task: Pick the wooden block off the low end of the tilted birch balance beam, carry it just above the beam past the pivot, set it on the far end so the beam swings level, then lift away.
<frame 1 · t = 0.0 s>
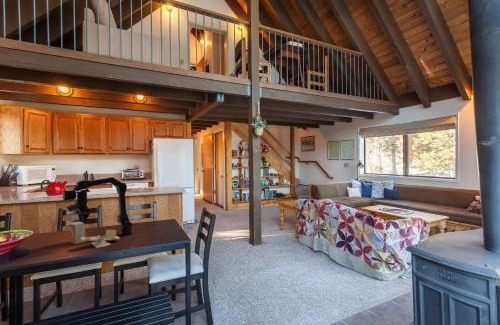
hand: (82, 222, 170), 15 cm above the table, tool pointing down, fingers open, 9 cm apart
pivot stand: (100, 244, 168), on the table
beam: (100, 238, 168), point 4 cm above the table, hinge at -10.2°, touching wooden block
small box: (77, 242, 173), on the table
wooden block: (110, 237, 172), point 3 cm above the table, tilted 10°, touching beam
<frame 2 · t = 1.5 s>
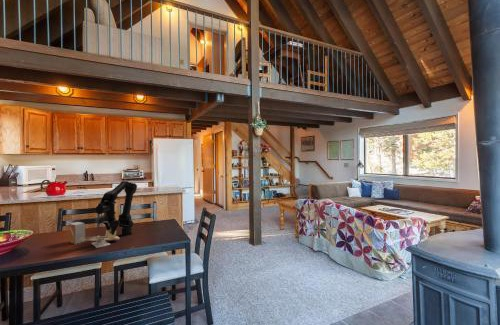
hand: (110, 233, 172), 6 cm above the table, tool pointing down, fingers open, 9 cm apart
nothing on the table moved.
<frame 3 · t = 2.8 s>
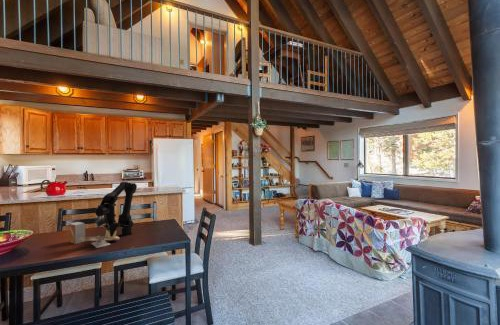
hand: (110, 235, 172), 4 cm above the table, tool pointing down, fingers closed on wooden block, 5 cm apart
wooden block: (110, 237, 172), point 3 cm above the table, tilted 10°, touching beam, gripper
everything else where it was.
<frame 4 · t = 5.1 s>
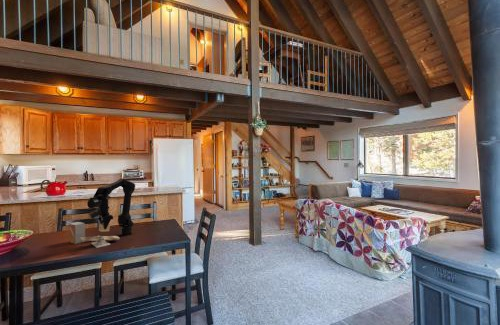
hand: (103, 228, 169), 10 cm above the table, tool pointing down, fingers closed on wooden block, 5 cm apart
beam: (100, 238, 168), point 4 cm above the table, hinge at -10.2°
wooden block: (103, 230, 169), point 9 cm above the table, tilted 10°, touching gripper
everything else where it was.
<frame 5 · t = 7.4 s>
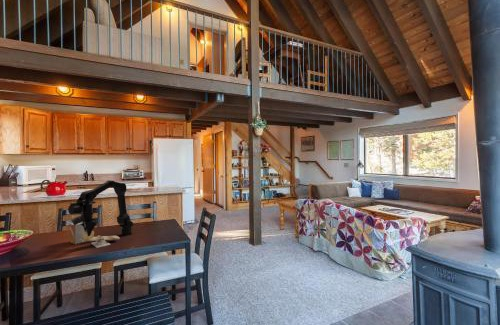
hand: (87, 235, 162), 8 cm above the table, tool pointing down, fingers closed on wooden block, 5 cm apart
beam: (100, 238, 168), point 4 cm above the table, hinge at -9.5°, touching wooden block
wooden block: (87, 238, 162), point 6 cm above the table, tilted 10°, touching beam, gripper
everything else where it was.
when the fingers open (8 cm above the table, at t = 7.7 s): wooden block stays where it is, resting on beam.
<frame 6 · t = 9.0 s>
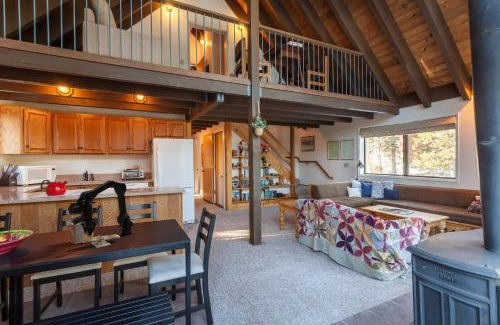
hand: (87, 235, 162), 8 cm above the table, tool pointing down, fingers open, 9 cm apart
beam: (100, 238, 168), point 4 cm above the table, hinge at -4.7°, touching wooden block
wooden block: (87, 239, 162), point 5 cm above the table, touching beam
everything else where it was.
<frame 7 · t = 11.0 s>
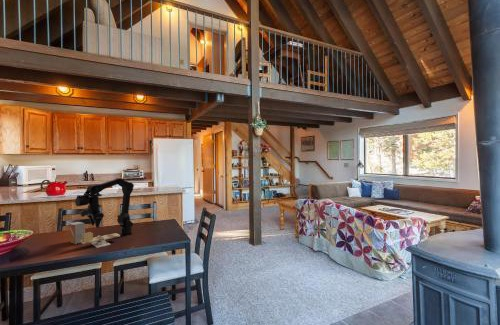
hand: (94, 226, 170), 11 cm above the table, tool pointing down, fingers open, 9 cm apart
beam: (100, 238, 168), point 4 cm above the table, hinge at 0.1°, touching wooden block
everything else where it was.
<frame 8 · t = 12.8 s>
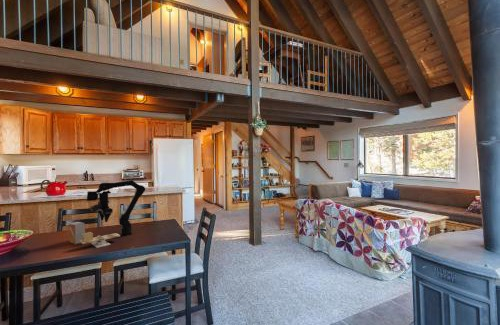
hand: (104, 221, 183), 12 cm above the table, tool pointing down, fingers open, 9 cm apart
nothing on the table moved.
at the end: beam at +0° (first picture: -10°); wooden block 0.1 cm from the target spot on the beam, point 0.0 cm above the beam's base; the gripper is holding nothing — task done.
